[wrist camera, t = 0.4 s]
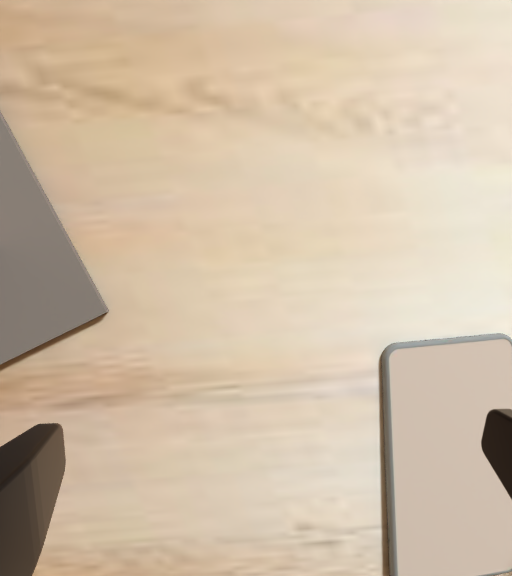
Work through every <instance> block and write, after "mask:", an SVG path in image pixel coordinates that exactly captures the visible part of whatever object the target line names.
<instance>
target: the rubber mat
mask: <svg viewBox="0 0 512 576" xmlns="http://www.w3.org/2000/svg"><path fill="white" fill-rule="evenodd" d="M108 311H109V310H108V308H107V307H106V305H105V303H104V301H103V299H102V297H101V296H100V294H99V292H98V290H97V288H96V286H95V285H94V283H93V281H92V279H91V277H90V275H89V274H88V272H87V270H86V268H85V266H84V264H83V263H82V261H81V259H80V257H79V255H78V253H77V251H76V250H75V248H74V246H73V244H72V242H71V240H70V239H69V237H68V235H67V233H66V231H65V229H64V228H63V226H62V224H61V222H60V220H59V218H58V217H57V215H56V213H55V211H54V209H53V207H52V205H51V204H50V202H49V200H48V198H47V196H46V194H45V193H44V191H43V189H42V187H41V185H40V183H39V182H38V180H37V178H36V176H35V174H34V172H33V171H32V169H31V167H30V165H29V163H28V161H27V159H26V158H25V156H24V154H23V152H22V150H21V148H20V147H19V145H18V143H17V141H16V139H15V137H14V136H13V134H12V132H11V130H10V128H9V126H8V125H7V123H6V121H5V119H4V117H3V115H2V113H1V112H0V364H2V363H4V362H7V361H9V360H11V359H13V358H15V357H17V356H19V355H21V354H23V353H25V352H27V351H29V350H31V349H33V348H35V347H37V346H39V345H41V344H43V343H45V342H47V341H49V340H51V339H53V338H55V337H58V336H60V335H62V334H64V333H66V332H68V331H70V330H72V329H74V328H76V327H78V326H80V325H82V324H84V323H86V322H88V321H90V320H92V319H94V318H96V317H98V316H100V315H102V314H104V313H106V312H108Z"/></svg>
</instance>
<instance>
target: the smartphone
mask: <svg viewBox="0 0 512 576" xmlns="http://www.w3.org/2000/svg"><path fill="white" fill-rule="evenodd" d="M381 361H382V390H383V419H384V446H385V472H386V497H387V521H388V544H389V568H390V576H492V575H498V574H503V573H508V572H511V571H512V500H511V498H510V496H509V495H508V493H507V491H506V490H505V488H504V486H503V485H502V483H501V481H500V480H499V478H498V476H497V475H496V473H495V471H494V470H493V468H492V466H491V465H490V463H489V461H488V460H487V458H486V457H485V455H484V453H483V450H482V447H481V439H482V434H483V430H484V425H485V421H486V416H487V414H488V412H489V411H490V410H492V409H512V339H511V338H510V337H509V336H507V335H505V334H501V333H497V334H486V335H479V336H469V337H467V336H465V337H456V338H447V339H432V340H425V341H410V342H400V343H393V344H390V345H389V346H387V347H386V348H385V350H384V351H383V353H382V359H381Z"/></svg>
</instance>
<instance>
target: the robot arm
mask: <svg viewBox="0 0 512 576" xmlns="http://www.w3.org/2000/svg"><path fill="white" fill-rule="evenodd" d="M481 447H482V450H483V453H484V455H485V457H486V458H487V460H488V461H489V463H490V465H491V466H492V468H493V470H494V471H495V473H496V475H497V476H498V478H499V480H500V481H501V483H502V485H503V486H504V488H505V490H506V491H507V493H508V495H509V496H510V498H511V500H512V409H492V410H490V411H489V412H488V414H487V416H486V421H485V425H484V430H483V434H482V439H481ZM65 463H66V460H65V448H64V437H63V429H62V426H61V425H60V424H58V423H52V424H38V425H36V426H34V427H32V428H31V429H29V430H27V431H26V432H24V433H22V434H21V435H19V436H18V437H16V438H14V439H13V440H11V441H9V442H8V443H6V444H4V445H3V446H1V447H0V576H32V574H33V572H34V570H35V567H36V564H37V562H38V559H39V556H40V554H41V551H42V548H43V545H44V541H45V538H46V535H47V531H48V528H49V524H50V521H51V517H52V514H53V510H54V507H55V503H56V500H57V496H58V493H59V489H60V486H61V482H62V479H63V475H64V471H65Z"/></svg>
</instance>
